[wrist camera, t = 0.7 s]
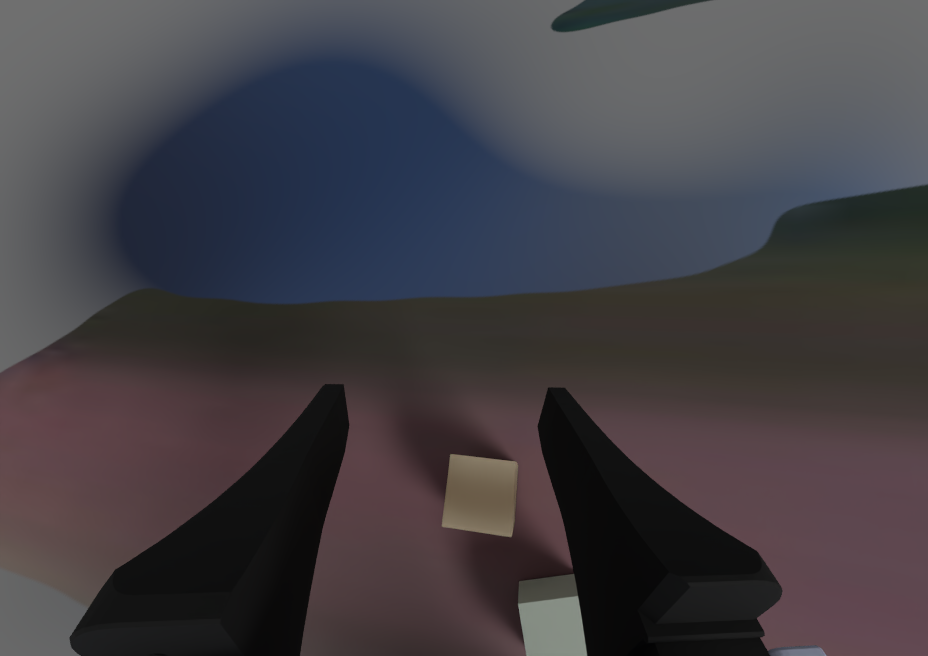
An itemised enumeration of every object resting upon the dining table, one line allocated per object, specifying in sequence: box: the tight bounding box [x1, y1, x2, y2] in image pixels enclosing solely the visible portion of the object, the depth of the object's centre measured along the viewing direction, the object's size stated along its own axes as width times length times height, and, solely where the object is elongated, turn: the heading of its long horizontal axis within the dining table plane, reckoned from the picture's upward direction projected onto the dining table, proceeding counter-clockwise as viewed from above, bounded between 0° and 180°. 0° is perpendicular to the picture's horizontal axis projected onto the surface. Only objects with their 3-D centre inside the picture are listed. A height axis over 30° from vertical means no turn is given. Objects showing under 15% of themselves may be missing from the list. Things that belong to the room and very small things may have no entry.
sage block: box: [518, 574, 587, 656], centre depth 23 cm, size 4×4×5 cm
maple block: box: [442, 454, 518, 537], centre depth 25 cm, size 4×4×7 cm
